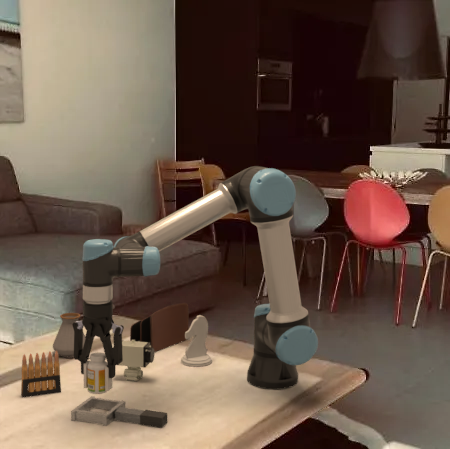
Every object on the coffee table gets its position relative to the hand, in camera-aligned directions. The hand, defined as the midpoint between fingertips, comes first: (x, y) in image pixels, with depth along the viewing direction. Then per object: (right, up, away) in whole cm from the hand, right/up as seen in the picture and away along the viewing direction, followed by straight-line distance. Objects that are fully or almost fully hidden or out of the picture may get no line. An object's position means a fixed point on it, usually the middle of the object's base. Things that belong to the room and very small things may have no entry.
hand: (98, 387), depth 195 cm
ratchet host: (+6, -8, -1) cm, 10 cm away
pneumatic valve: (+6, -4, +28) cm, 29 cm away
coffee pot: (-13, 0, +53) cm, 55 cm away
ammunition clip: (-18, -5, +15) cm, 25 cm away
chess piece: (+24, -2, +45) cm, 50 cm away
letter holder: (+11, +1, +63) cm, 64 cm away
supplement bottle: (0, -1, 0) cm, 1 cm away
